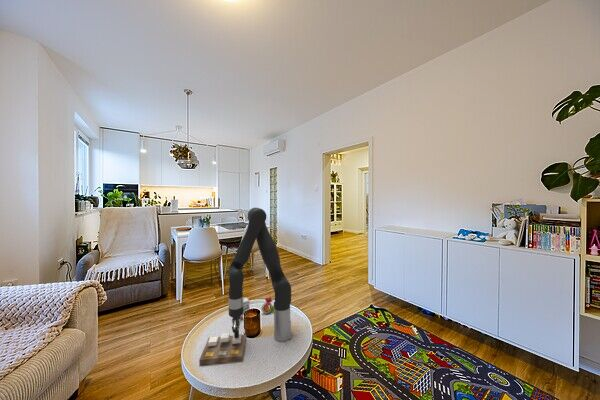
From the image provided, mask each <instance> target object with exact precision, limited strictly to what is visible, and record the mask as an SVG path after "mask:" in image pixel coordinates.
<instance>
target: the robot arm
mask: <svg viewBox="0 0 600 400" xmlns="http://www.w3.org/2000/svg"><path fill="white" fill-rule="evenodd" d="M247 220H248V224H247V228H246V231H245V234H244V236H243V237H242V239H241V241H240V242H239V245H238V247H237V249H236V253H235V255H234V258H233V259H232V261H231V263H230V266H229V267H228V269H227V276H228V280H229V282H228V283H229V287H228V300H227V301H228V303H227V304H228V316H229V317H231V324H232V326H231V331H232V333H233V336H234V338H239V335H240V325H241V320H240V318H241V315H242V314H243V313H244V305H243V298H244V293H243V292H244V290H243V286H244V272H243V268H244V266H245V265H246V264H247V263H248V261H249V258H250V255H251V252H252V250H253V247H254V245H255V243H257V246H258V249H259V252H260V255H261V259H262V260H263V263H264V265H265V267H266V269H267V271H268V274H269V276H270V279H271V284H272V289H273V292H274V300H273V301H274V302H273V305H274V313H273V328H274V329H273V337H274V340H275V341H277V342H286V341H289V340H292V322H291V303H292V286H291V285H292V284H291V283H290V282H289V280H288V278H287V277H286V275H285V273H284V270H283V269H282V265H281V259H280V257H281V256H280V254H279V250H278V247H277V244H276V243H275V240H274V238H273V237H272V234H271V233H270V232H269V230H268V227H267V223H266V221H267V213H266V211H265V210H264V209H263V208H259V207H252V208H250V209H249V211H248V212H247Z"/></svg>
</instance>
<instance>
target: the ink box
mask: <svg viewBox="0 0 600 400" xmlns="http://www.w3.org/2000/svg"><path fill="white" fill-rule="evenodd" d="M243 305H244V312H245V311H247V310H250V299H249V297H243ZM243 315H244V313H243V314H242V315H241V318H240V321H243Z"/></svg>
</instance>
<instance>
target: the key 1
mask: <svg viewBox="0 0 600 400" xmlns="http://www.w3.org/2000/svg"><path fill="white" fill-rule="evenodd" d="M218 337H219V336H210V337H209V338H210V339H209V342H208V346H216V345H217V342H218Z"/></svg>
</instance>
